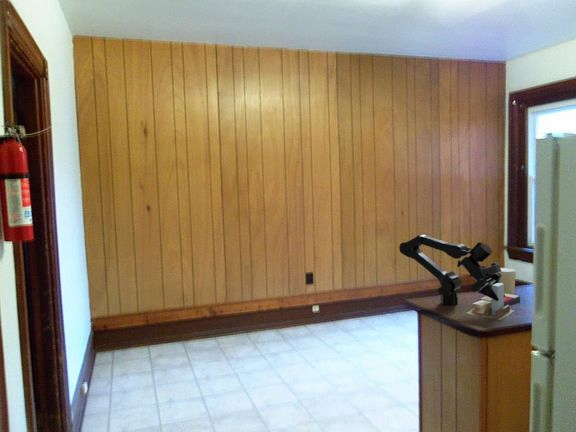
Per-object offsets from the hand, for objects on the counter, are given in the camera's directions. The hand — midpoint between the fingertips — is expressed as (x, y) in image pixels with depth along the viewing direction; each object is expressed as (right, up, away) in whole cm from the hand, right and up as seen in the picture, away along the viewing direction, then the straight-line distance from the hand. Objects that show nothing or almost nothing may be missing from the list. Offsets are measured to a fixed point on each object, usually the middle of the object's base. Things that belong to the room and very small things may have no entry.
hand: (501, 298), depth 187 cm
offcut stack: (-5, -6, +6) cm, 10 cm away
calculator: (+7, -6, +17) cm, 20 cm away
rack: (-3, -7, +4) cm, 9 cm away
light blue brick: (-1, -6, +2) cm, 7 cm away
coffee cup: (+17, -4, +33) cm, 38 cm away
